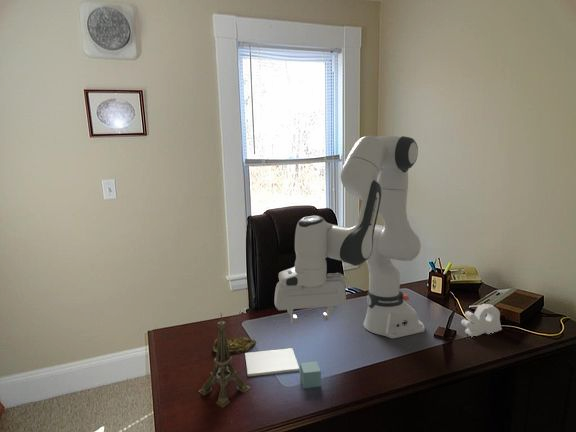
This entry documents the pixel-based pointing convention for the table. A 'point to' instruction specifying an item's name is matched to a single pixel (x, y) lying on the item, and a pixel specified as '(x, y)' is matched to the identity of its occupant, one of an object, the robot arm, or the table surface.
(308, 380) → the cube
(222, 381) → the eiffel tower
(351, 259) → the robot arm
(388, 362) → the table surface
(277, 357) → the board
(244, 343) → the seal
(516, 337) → the table surface
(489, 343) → the table surface
